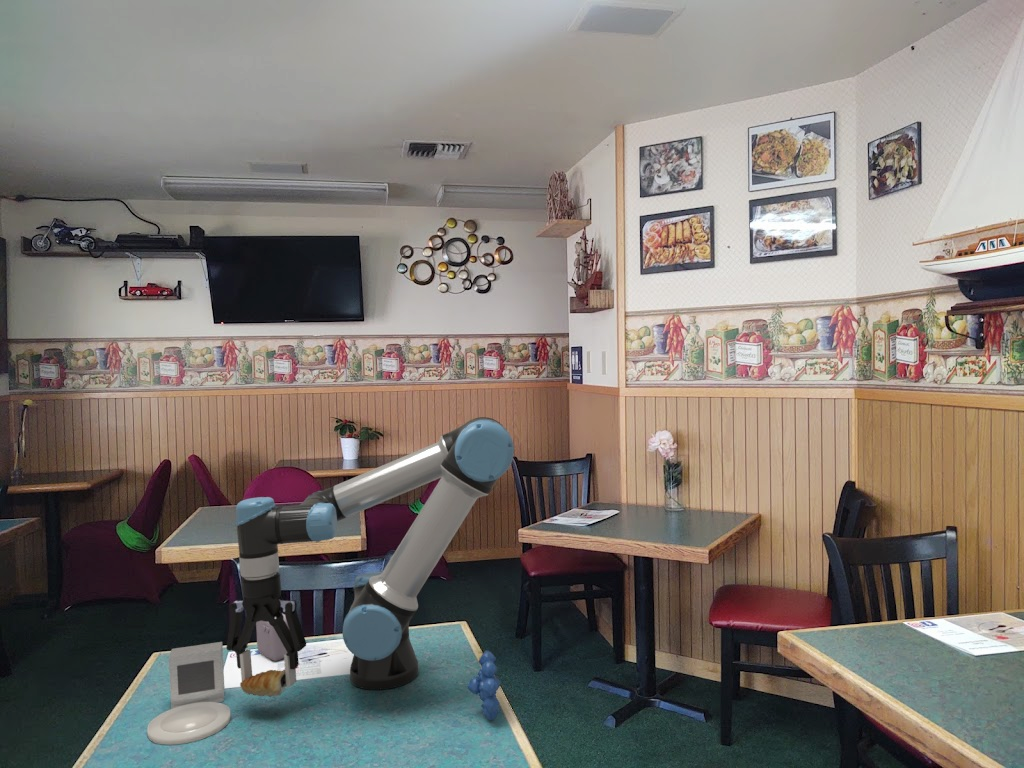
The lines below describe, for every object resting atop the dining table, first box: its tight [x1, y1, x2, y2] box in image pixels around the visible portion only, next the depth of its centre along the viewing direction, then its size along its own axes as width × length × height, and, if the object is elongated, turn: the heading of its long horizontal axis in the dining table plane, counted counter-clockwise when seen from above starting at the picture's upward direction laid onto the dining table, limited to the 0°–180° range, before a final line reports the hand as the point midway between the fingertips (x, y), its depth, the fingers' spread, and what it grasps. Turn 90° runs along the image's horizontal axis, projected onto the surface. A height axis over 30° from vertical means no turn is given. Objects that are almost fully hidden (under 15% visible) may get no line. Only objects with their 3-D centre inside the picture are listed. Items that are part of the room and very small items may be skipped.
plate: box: [146, 702, 231, 746], centre depth 146 cm, size 15×15×1 cm
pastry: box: [239, 669, 287, 697], centre depth 150 cm, size 9×7×4 cm
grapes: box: [466, 650, 502, 721], centre depth 146 cm, size 12×7×12 cm, turn 6°
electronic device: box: [255, 612, 289, 662], centre depth 181 cm, size 10×5×10 cm, turn 43°
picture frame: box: [168, 641, 226, 709], centre depth 157 cm, size 10×6×11 cm, turn 108°
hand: (269, 683), depth 152 cm, fingers closed on pastry, 9 cm apart
